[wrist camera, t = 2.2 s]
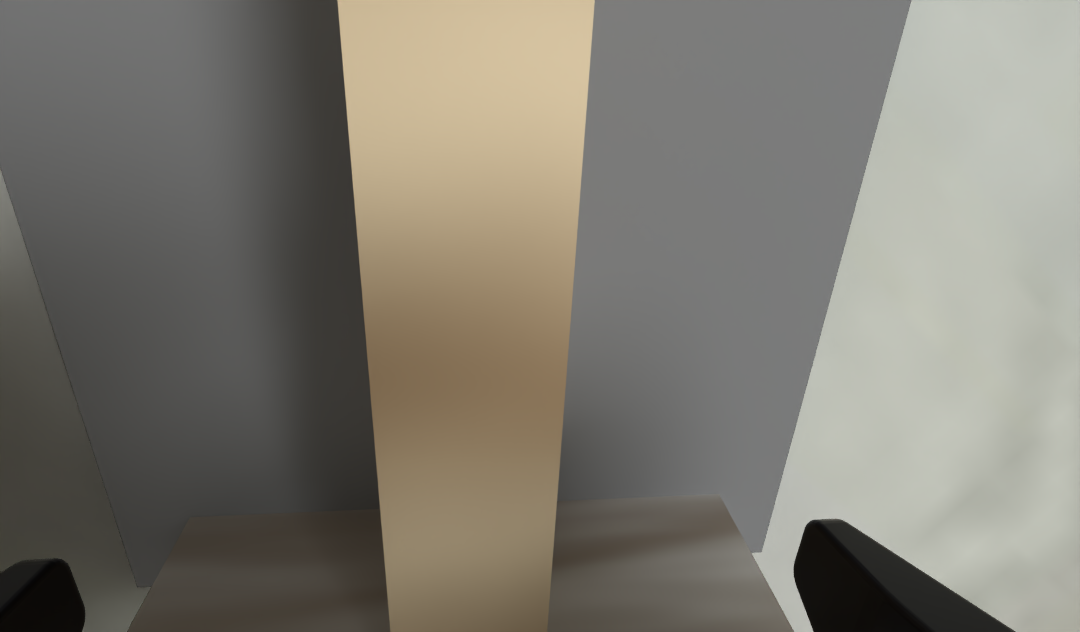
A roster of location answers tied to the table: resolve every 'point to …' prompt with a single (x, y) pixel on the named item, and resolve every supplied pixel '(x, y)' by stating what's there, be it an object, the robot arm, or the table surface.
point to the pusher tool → (467, 373)
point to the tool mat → (333, 258)
